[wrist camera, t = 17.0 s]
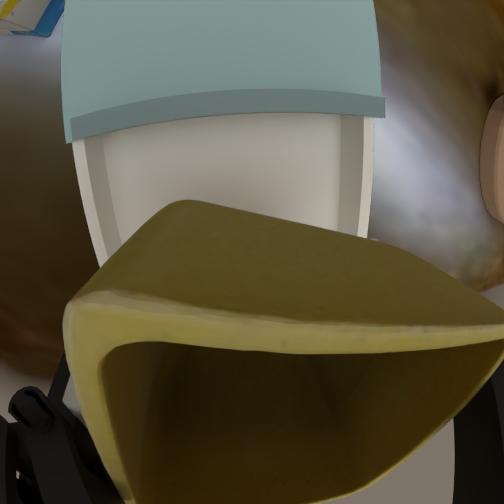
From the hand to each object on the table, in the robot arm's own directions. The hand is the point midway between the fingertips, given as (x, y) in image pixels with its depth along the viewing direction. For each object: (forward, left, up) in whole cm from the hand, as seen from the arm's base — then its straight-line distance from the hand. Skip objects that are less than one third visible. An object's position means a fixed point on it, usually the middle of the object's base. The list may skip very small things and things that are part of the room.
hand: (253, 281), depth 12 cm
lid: (0, +15, -5) cm, 16 cm away
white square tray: (0, +2, -10) cm, 10 cm away
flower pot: (0, 0, -1) cm, 1 cm away
